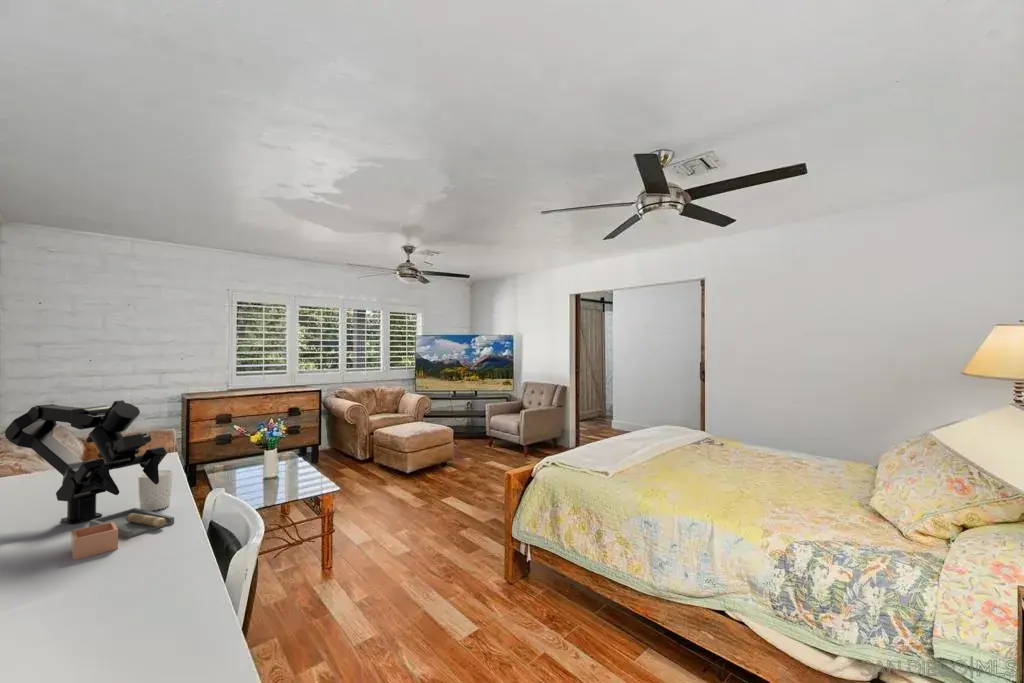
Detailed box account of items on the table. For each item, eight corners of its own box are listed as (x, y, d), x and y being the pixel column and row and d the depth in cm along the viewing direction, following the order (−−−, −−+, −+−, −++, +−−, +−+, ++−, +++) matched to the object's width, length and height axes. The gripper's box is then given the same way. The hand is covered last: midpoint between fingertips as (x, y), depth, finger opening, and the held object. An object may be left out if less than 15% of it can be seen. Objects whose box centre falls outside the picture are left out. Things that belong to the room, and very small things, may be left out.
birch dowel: (123, 516, 114) (151, 505, 110) (133, 512, 116) (160, 501, 112) (132, 537, 114) (159, 527, 110) (141, 532, 116) (168, 523, 112)
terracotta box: (70, 552, 100) (71, 530, 100) (113, 542, 105) (113, 521, 105) (73, 562, 95) (73, 539, 95) (117, 551, 100) (118, 529, 101)
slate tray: (89, 529, 113) (89, 520, 113) (134, 515, 122) (135, 507, 122) (128, 540, 106) (128, 531, 106) (174, 525, 115) (174, 517, 115)
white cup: (152, 513, 124) (153, 478, 124) (130, 511, 126) (130, 476, 126) (178, 504, 132) (179, 470, 132) (157, 502, 133) (158, 469, 134)
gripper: (82, 429, 108) (110, 478, 104) (163, 418, 125) (190, 459, 122) (61, 459, 110) (89, 508, 106) (144, 444, 128) (170, 485, 124)
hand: (138, 488), depth 114 cm, fingers open, 9 cm apart
